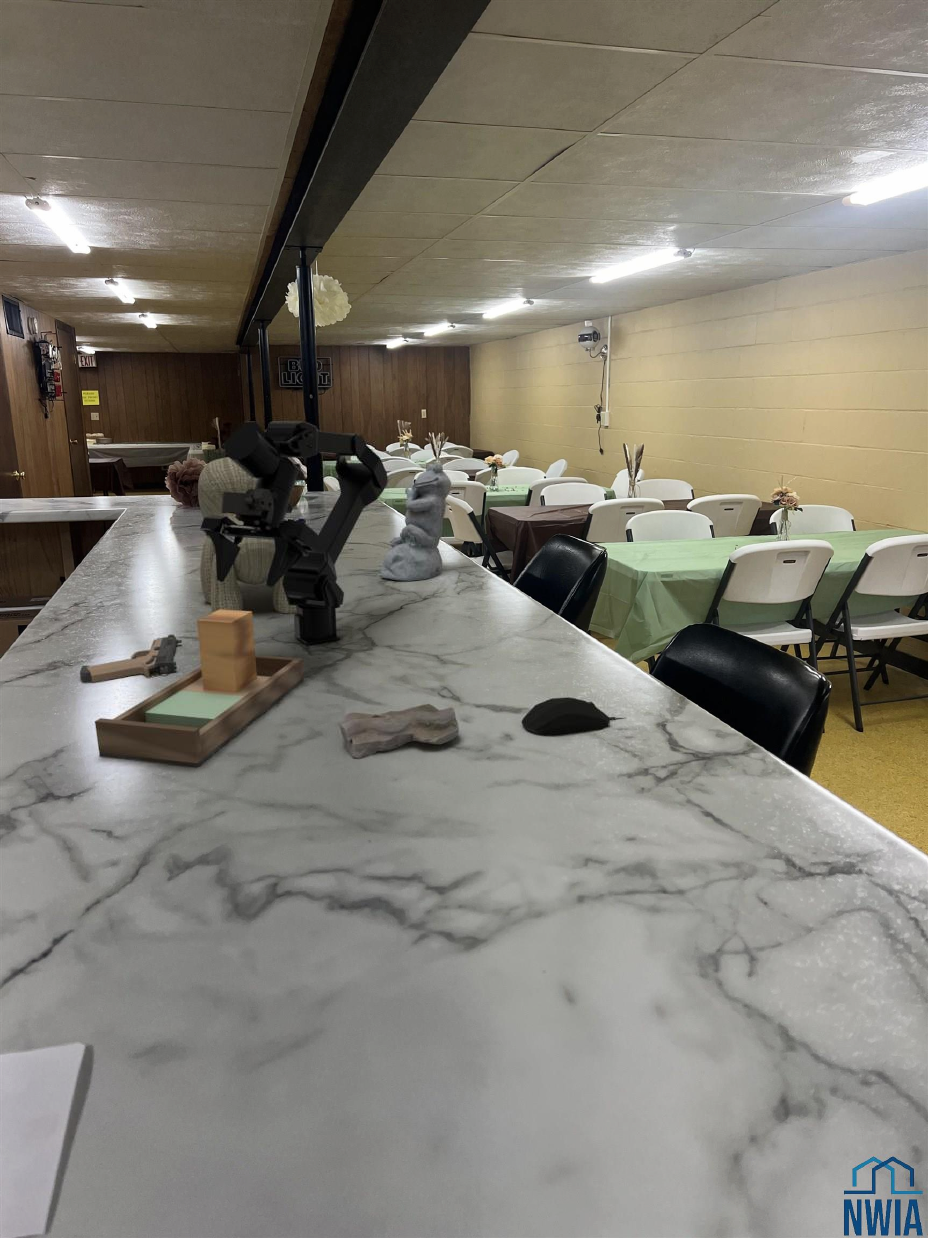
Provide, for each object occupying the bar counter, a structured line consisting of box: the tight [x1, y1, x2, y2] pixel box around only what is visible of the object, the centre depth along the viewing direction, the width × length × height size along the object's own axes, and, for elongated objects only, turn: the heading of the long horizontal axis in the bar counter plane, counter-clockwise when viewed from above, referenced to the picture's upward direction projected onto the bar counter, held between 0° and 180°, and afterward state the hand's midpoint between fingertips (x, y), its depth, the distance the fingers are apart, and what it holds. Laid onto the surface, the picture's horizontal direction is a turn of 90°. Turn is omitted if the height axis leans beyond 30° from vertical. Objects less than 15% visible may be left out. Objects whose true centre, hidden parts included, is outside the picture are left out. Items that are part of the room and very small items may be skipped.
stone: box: [339, 703, 460, 760], centre depth 97 cm, size 15×10×4 cm, turn 104°
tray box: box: [94, 654, 304, 768], centre depth 105 cm, size 30×13×4 cm, turn 168°
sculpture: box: [379, 461, 452, 582], centre depth 187 cm, size 18×16×30 cm
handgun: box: [79, 634, 183, 684], centre depth 127 cm, size 19×3×14 cm
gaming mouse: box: [520, 696, 626, 737], centre depth 102 cm, size 6×15×4 cm, turn 105°
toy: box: [197, 456, 297, 615], centre depth 161 cm, size 21×30×30 cm
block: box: [196, 609, 257, 693], centre depth 108 cm, size 6×5×10 cm
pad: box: [145, 691, 244, 730], centre depth 102 cm, size 8×11×2 cm
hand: (244, 583), depth 118 cm, fingers open, 9 cm apart
